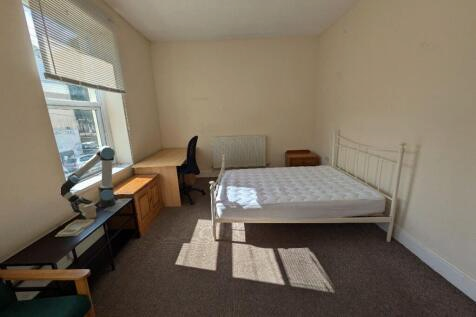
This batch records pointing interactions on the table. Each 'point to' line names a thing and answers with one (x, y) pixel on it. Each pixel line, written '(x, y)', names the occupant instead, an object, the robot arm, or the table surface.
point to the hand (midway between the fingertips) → (90, 211)
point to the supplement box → (90, 211)
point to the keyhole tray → (75, 227)
